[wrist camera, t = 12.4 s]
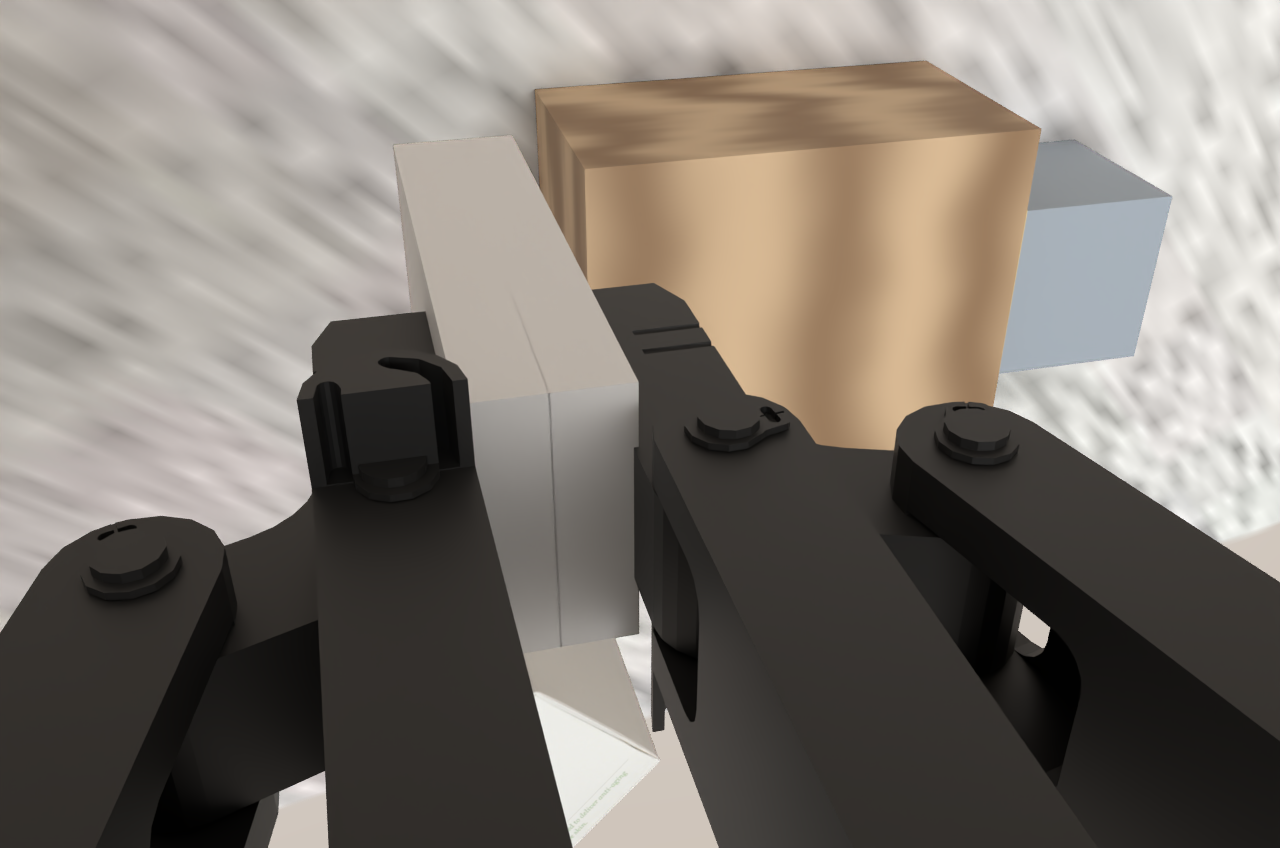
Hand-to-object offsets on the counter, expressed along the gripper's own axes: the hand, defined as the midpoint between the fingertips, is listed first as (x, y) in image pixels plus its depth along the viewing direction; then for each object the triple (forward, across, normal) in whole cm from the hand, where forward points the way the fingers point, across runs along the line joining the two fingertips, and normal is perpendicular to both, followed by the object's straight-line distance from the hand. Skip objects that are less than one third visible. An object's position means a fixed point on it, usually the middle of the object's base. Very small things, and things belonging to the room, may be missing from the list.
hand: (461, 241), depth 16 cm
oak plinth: (+30, +14, -14) cm, 36 cm away
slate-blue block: (+27, +23, -14) cm, 38 cm away
